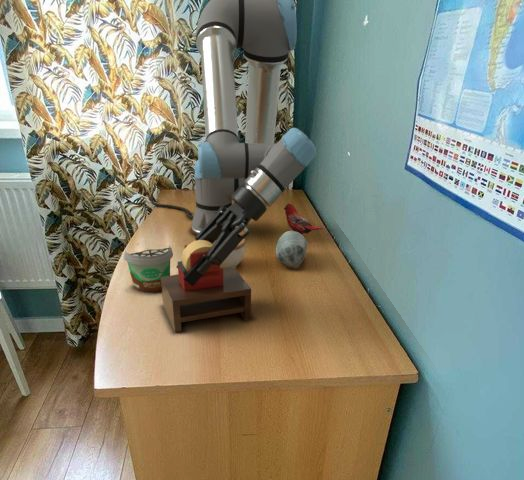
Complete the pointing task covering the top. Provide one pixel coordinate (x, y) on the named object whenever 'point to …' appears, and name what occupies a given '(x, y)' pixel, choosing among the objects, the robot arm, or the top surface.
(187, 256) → the tape dispenser
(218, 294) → the shelf
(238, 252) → the trinket box
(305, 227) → the decorative bird figurine
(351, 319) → the top surface
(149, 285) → the food container
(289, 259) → the spool
